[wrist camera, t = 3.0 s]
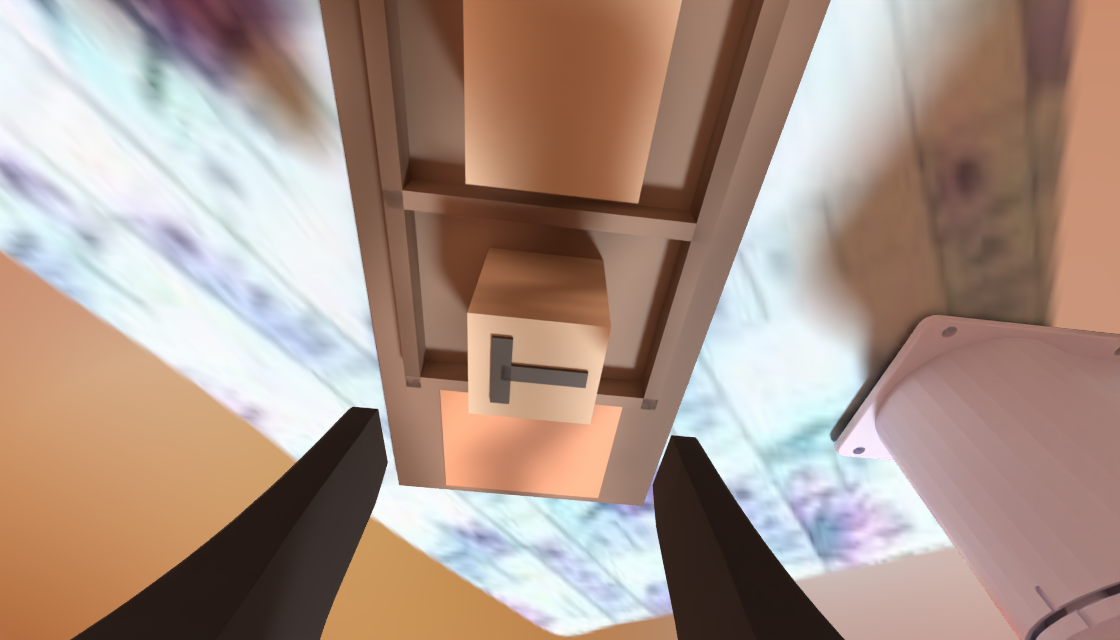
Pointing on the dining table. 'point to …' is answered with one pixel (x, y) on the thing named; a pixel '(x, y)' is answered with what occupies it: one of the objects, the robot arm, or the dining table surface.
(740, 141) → the organiser
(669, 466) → the robot arm
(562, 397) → the letter cube
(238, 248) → the dining table surface
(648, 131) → the blank cube
